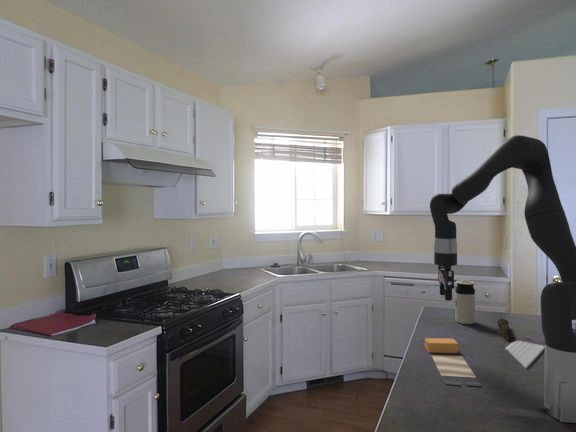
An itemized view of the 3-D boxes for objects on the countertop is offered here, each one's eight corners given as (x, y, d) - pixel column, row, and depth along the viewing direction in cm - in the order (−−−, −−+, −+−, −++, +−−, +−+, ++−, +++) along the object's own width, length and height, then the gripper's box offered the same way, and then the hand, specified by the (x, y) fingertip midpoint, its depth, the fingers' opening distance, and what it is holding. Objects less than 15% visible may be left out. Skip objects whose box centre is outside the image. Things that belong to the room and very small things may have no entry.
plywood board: (476, 382, 123) (476, 377, 123) (440, 380, 125) (440, 375, 125) (462, 360, 140) (462, 356, 140) (431, 359, 142) (431, 354, 142)
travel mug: (476, 321, 185) (476, 281, 185) (473, 325, 179) (473, 284, 178) (457, 318, 190) (457, 279, 189) (453, 323, 183) (453, 282, 182)
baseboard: (480, 366, 137) (521, 376, 129) (480, 357, 137) (521, 367, 128) (509, 342, 159) (545, 350, 151) (509, 334, 159) (545, 342, 151)
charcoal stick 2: (479, 389, 119) (481, 392, 117) (464, 388, 120) (466, 392, 118) (479, 382, 119) (481, 385, 117) (464, 382, 120) (466, 385, 118)
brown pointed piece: (497, 327, 177) (497, 316, 176) (508, 328, 175) (508, 317, 175) (499, 341, 159) (500, 329, 159) (511, 342, 158) (511, 330, 158)
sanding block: (457, 357, 143) (458, 343, 143) (428, 357, 144) (428, 342, 144) (453, 352, 148) (453, 338, 148) (424, 352, 149) (424, 338, 149)
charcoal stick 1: (459, 389, 120) (460, 392, 118) (444, 387, 121) (445, 390, 119) (459, 382, 120) (460, 385, 118) (444, 380, 120) (445, 383, 119)
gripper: (462, 253, 137) (462, 302, 137) (452, 249, 151) (452, 293, 151) (438, 253, 138) (438, 302, 138) (430, 249, 152) (430, 293, 152)
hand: (445, 297), depth 145 cm, fingers open, 8 cm apart
